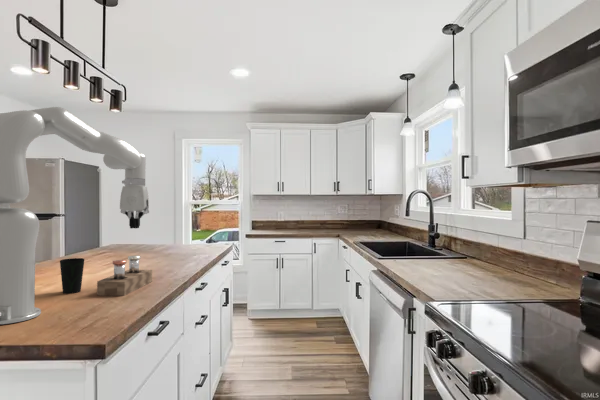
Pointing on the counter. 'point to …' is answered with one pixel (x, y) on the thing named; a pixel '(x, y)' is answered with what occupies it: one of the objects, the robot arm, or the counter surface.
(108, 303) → the counter surface
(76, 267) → the cup
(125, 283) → the socket block
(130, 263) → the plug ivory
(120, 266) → the plug red
